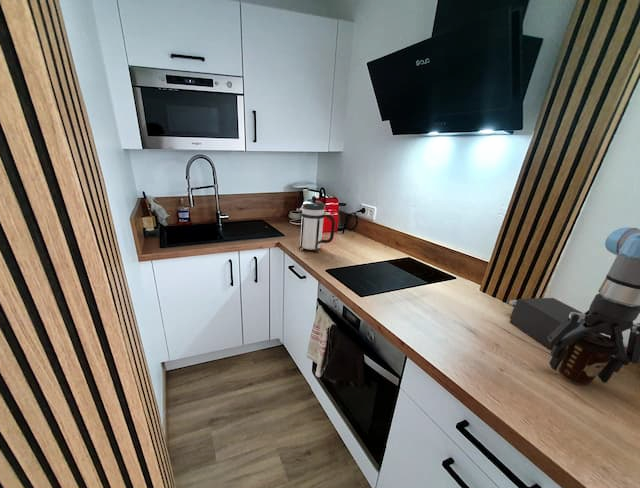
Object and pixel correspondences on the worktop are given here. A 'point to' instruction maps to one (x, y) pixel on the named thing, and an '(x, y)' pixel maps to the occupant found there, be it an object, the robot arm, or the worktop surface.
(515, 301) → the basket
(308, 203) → the coffee press
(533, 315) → the dark grey low box
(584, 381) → the coffee cup
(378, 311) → the worktop surface
